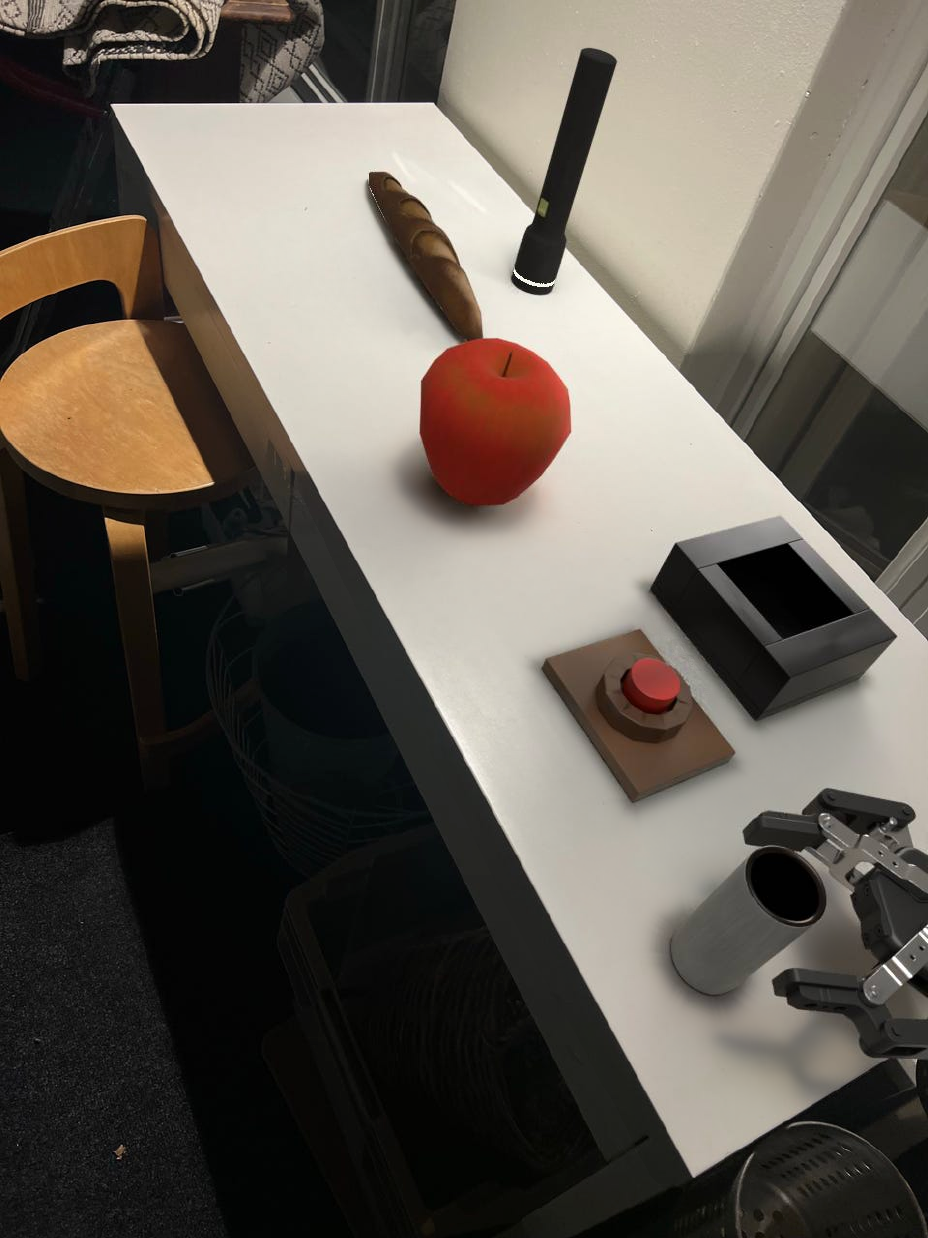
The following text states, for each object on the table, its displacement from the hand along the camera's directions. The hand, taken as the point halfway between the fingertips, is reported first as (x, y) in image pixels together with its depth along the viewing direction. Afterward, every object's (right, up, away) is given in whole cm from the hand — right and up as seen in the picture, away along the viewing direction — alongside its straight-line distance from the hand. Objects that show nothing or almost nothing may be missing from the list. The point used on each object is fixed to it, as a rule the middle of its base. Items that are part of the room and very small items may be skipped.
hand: (763, 901), depth 49 cm
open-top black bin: (+8, +14, +26) cm, 30 cm away
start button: (-3, +10, +15) cm, 19 cm away
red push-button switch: (-4, +8, +17) cm, 19 cm away
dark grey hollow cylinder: (-2, -5, +6) cm, 8 cm away
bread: (-21, +56, +54) cm, 80 cm away
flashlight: (-8, +54, +56) cm, 79 cm away
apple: (-16, +26, +30) cm, 43 cm away
